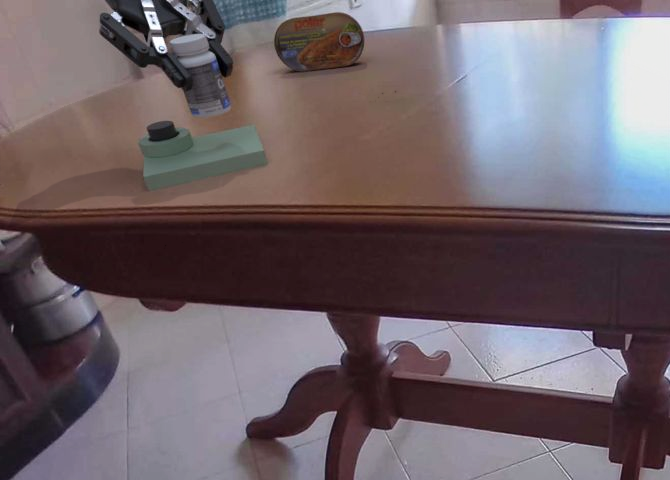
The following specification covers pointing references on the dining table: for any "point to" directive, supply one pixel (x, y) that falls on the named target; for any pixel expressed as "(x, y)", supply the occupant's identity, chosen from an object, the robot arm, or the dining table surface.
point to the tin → (319, 41)
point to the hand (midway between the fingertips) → (209, 78)
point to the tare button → (161, 131)
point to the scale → (199, 156)
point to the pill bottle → (202, 76)
